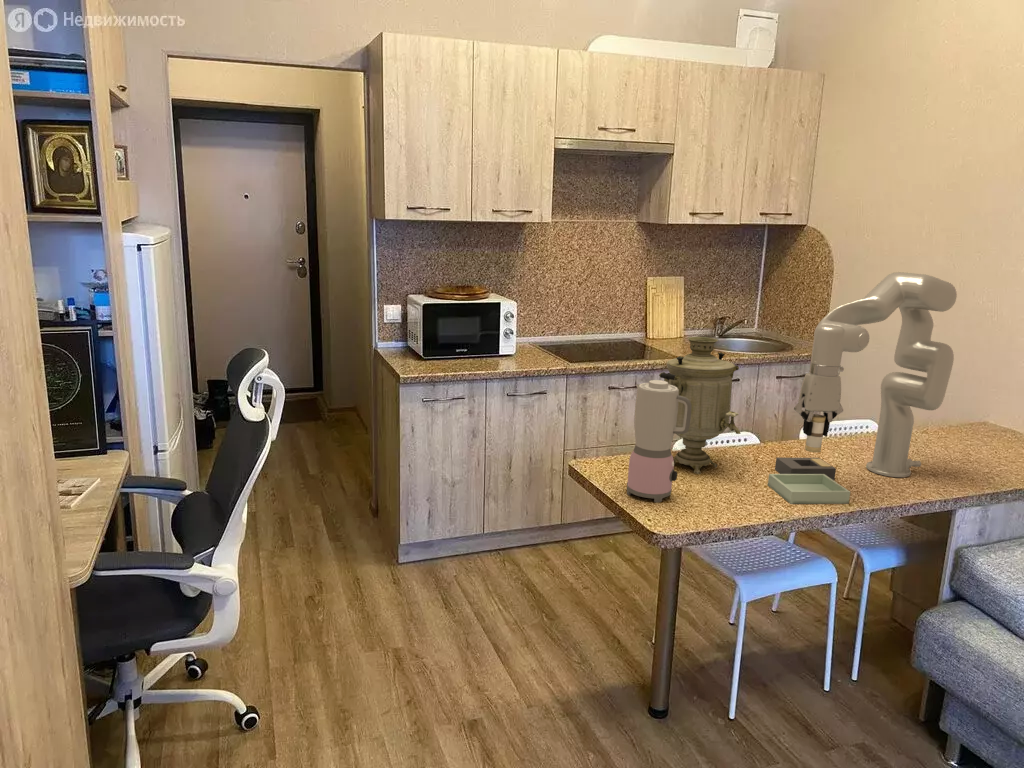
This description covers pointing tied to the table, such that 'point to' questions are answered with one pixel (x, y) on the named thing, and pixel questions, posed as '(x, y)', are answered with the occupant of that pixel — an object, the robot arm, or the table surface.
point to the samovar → (702, 398)
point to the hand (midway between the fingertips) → (815, 433)
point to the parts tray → (808, 489)
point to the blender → (655, 439)
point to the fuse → (815, 434)
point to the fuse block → (804, 466)
